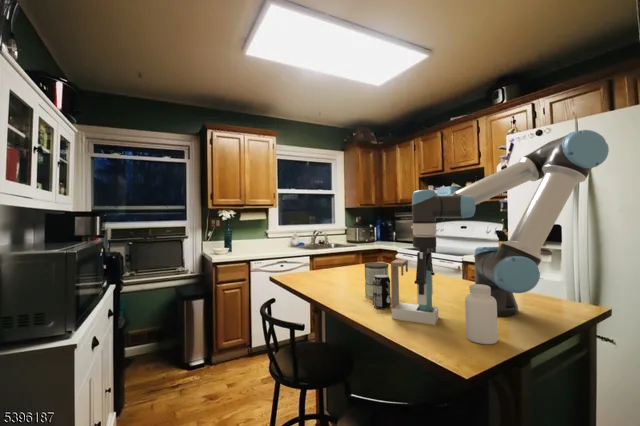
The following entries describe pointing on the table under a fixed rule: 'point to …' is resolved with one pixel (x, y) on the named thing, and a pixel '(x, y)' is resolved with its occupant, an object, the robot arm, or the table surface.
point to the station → (404, 309)
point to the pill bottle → (481, 315)
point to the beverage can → (381, 291)
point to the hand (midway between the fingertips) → (425, 298)
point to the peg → (429, 294)
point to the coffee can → (370, 271)
